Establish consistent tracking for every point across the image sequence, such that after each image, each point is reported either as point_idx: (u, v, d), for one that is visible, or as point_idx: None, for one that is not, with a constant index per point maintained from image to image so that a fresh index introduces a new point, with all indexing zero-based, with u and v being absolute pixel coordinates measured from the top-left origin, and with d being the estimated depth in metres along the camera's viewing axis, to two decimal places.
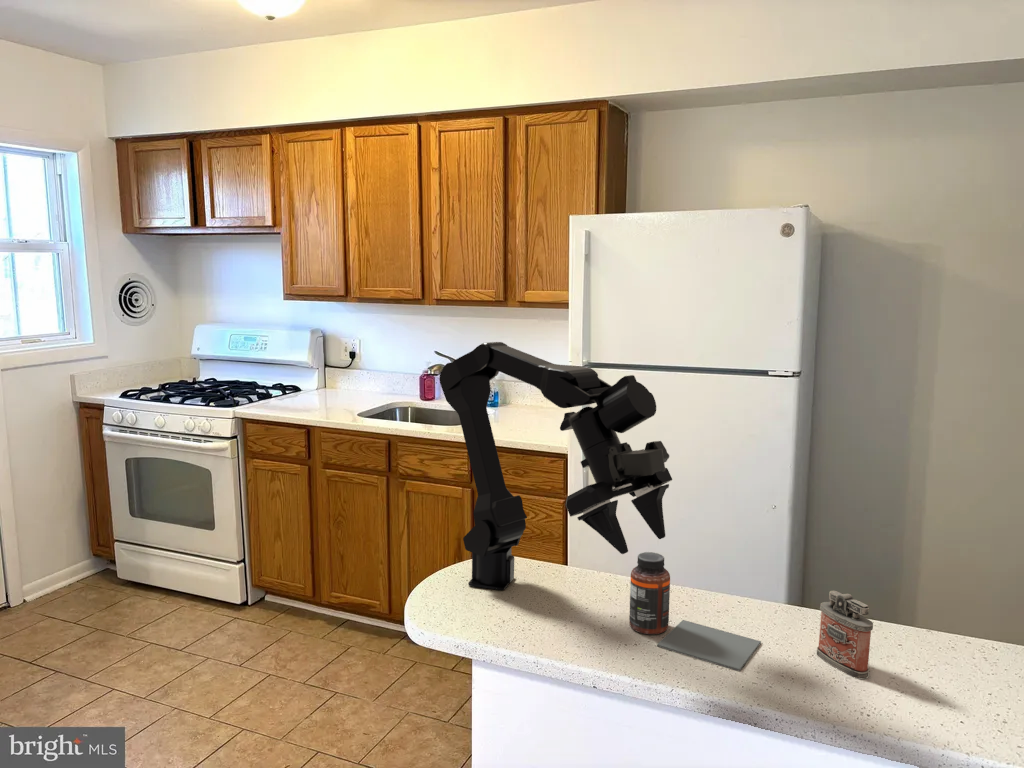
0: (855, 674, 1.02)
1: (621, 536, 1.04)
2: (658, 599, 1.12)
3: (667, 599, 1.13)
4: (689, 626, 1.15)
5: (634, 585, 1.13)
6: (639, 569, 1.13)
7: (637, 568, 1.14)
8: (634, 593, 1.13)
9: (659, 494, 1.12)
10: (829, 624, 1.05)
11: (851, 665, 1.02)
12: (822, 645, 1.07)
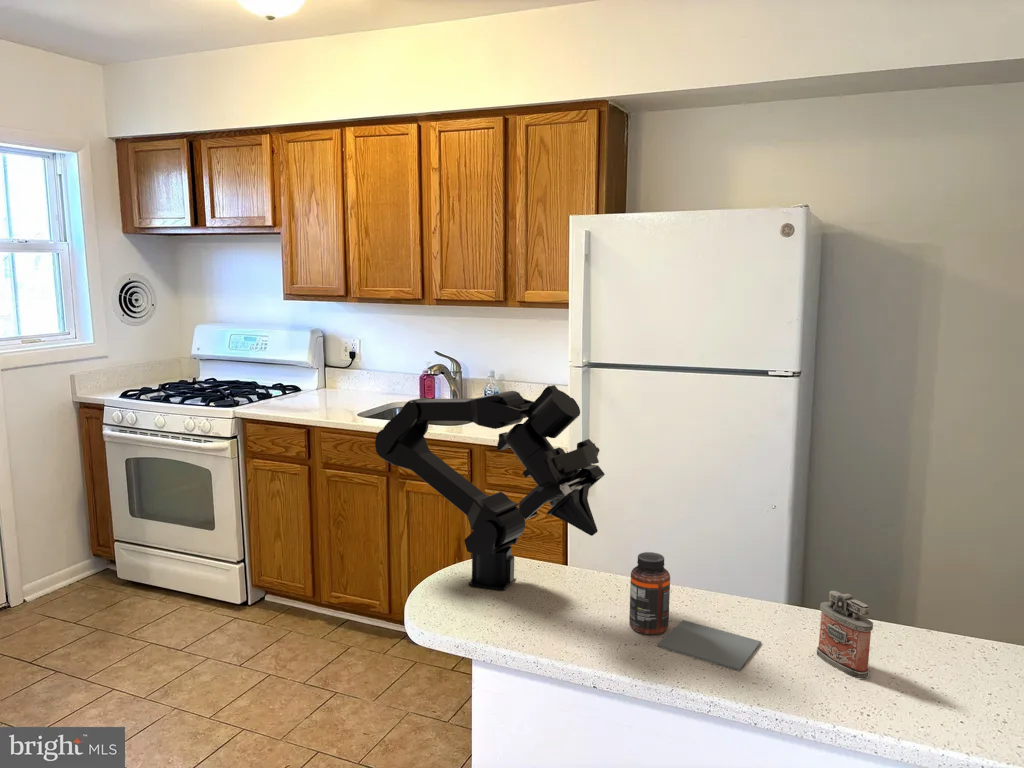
0: (855, 674, 1.02)
1: (588, 519, 1.19)
2: (658, 599, 1.12)
3: (667, 599, 1.13)
4: (689, 626, 1.15)
5: (634, 585, 1.13)
6: (639, 569, 1.13)
7: (637, 568, 1.14)
8: (634, 593, 1.13)
9: (584, 494, 1.21)
10: (829, 624, 1.05)
11: (851, 665, 1.02)
12: (822, 645, 1.07)
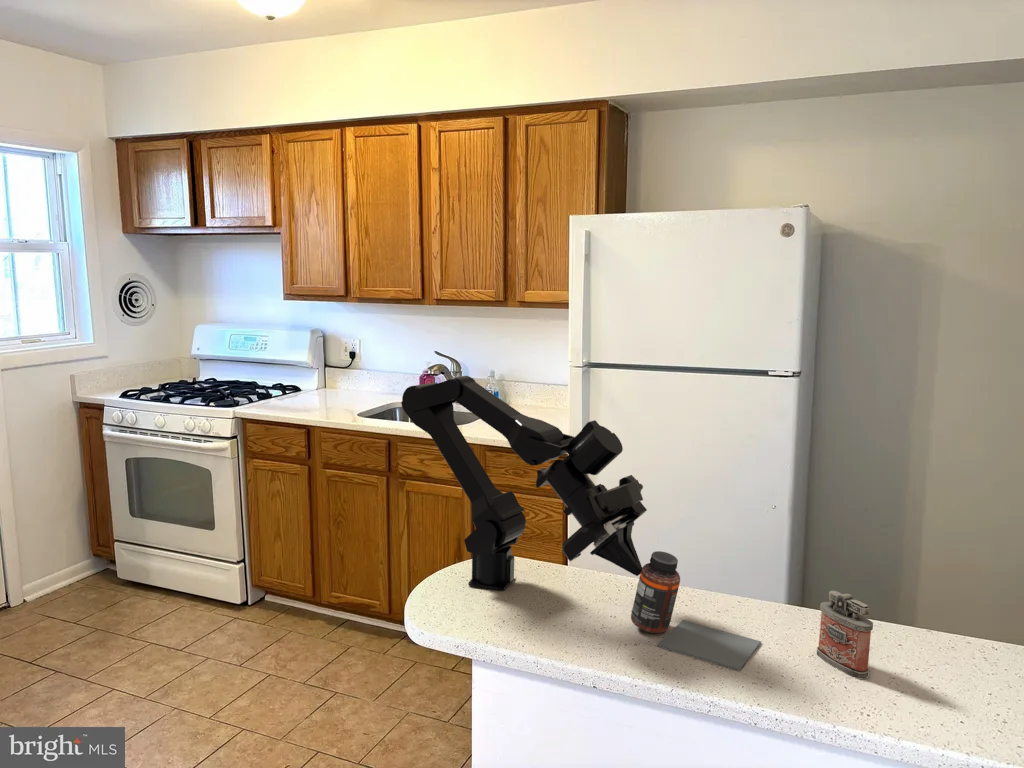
0: (855, 674, 1.02)
1: (633, 559, 1.15)
2: (665, 601, 1.11)
3: (673, 601, 1.12)
4: (689, 626, 1.15)
5: (643, 582, 1.12)
6: (651, 567, 1.12)
7: (649, 566, 1.13)
8: (642, 590, 1.12)
9: (628, 532, 1.17)
10: (829, 624, 1.05)
11: (851, 665, 1.02)
12: (822, 645, 1.07)
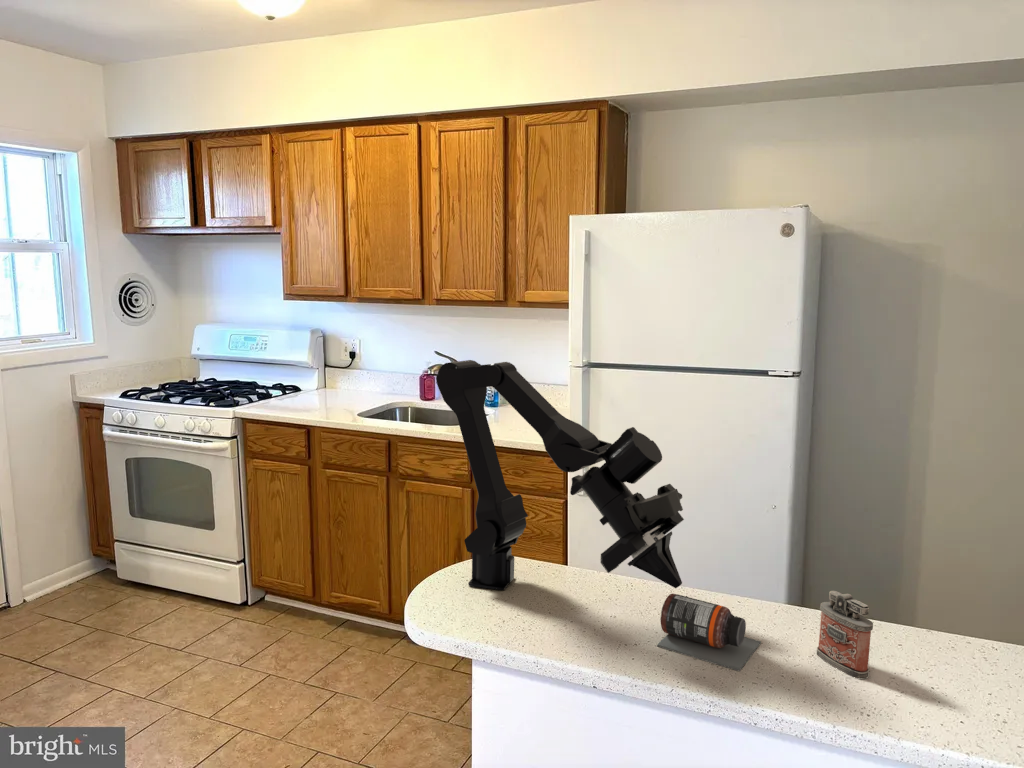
0: (855, 674, 1.02)
1: (672, 571, 1.12)
2: (698, 642, 1.09)
3: None
4: None
5: (708, 624, 1.07)
6: (726, 627, 1.06)
7: (726, 623, 1.07)
8: (700, 622, 1.07)
9: (666, 543, 1.14)
10: (829, 624, 1.05)
11: (851, 665, 1.02)
12: (822, 645, 1.07)
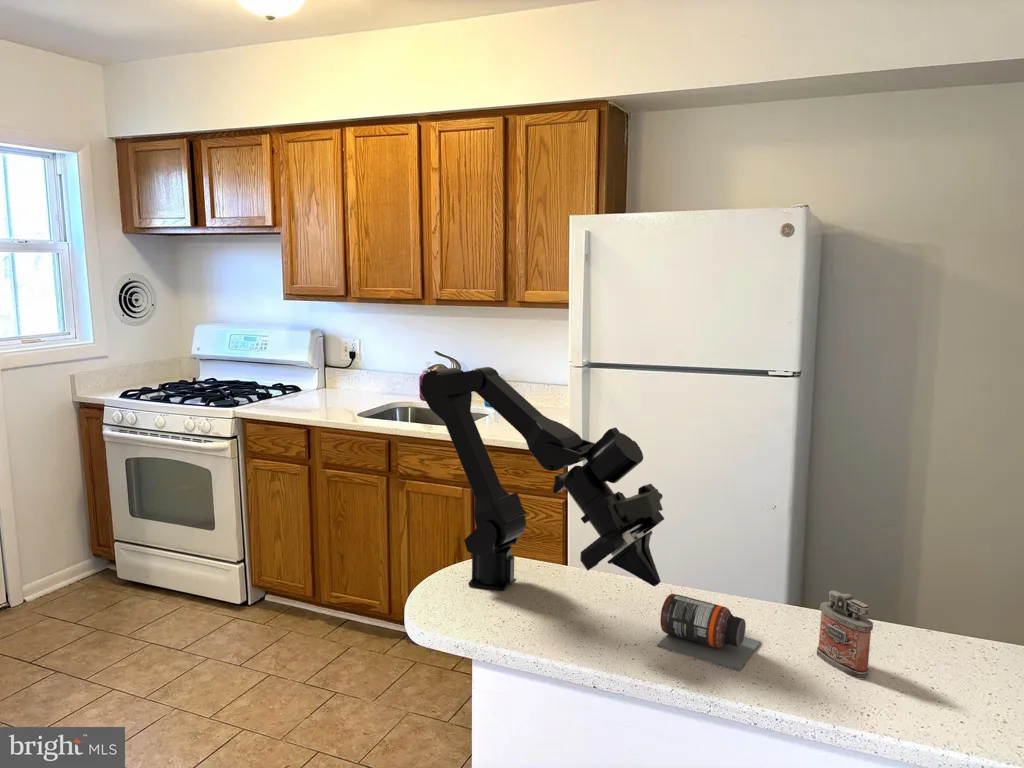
0: (855, 674, 1.02)
1: (651, 569, 1.13)
2: (698, 642, 1.09)
3: None
4: None
5: (708, 624, 1.07)
6: (726, 628, 1.06)
7: (726, 624, 1.06)
8: (700, 623, 1.07)
9: (646, 542, 1.15)
10: (829, 624, 1.05)
11: (851, 665, 1.02)
12: (822, 645, 1.07)
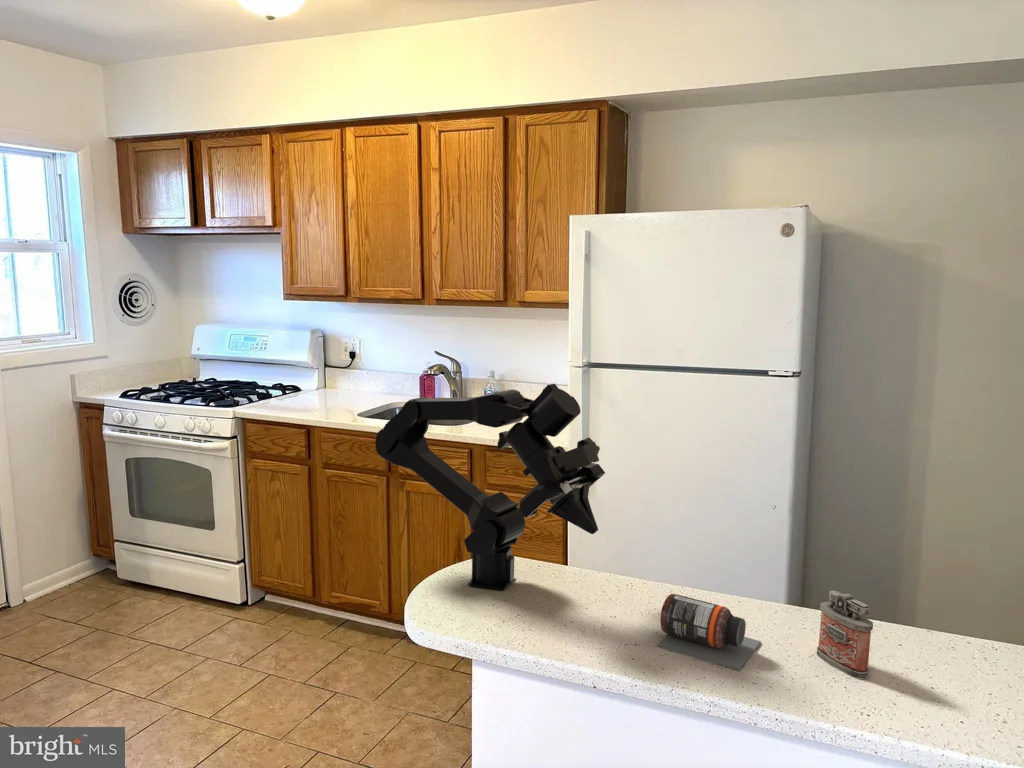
0: (855, 674, 1.02)
1: (588, 518, 1.19)
2: (698, 642, 1.09)
3: None
4: None
5: (708, 624, 1.07)
6: (726, 628, 1.06)
7: (726, 624, 1.06)
8: (700, 623, 1.07)
9: (584, 492, 1.21)
10: (829, 624, 1.05)
11: (851, 665, 1.02)
12: (822, 645, 1.07)
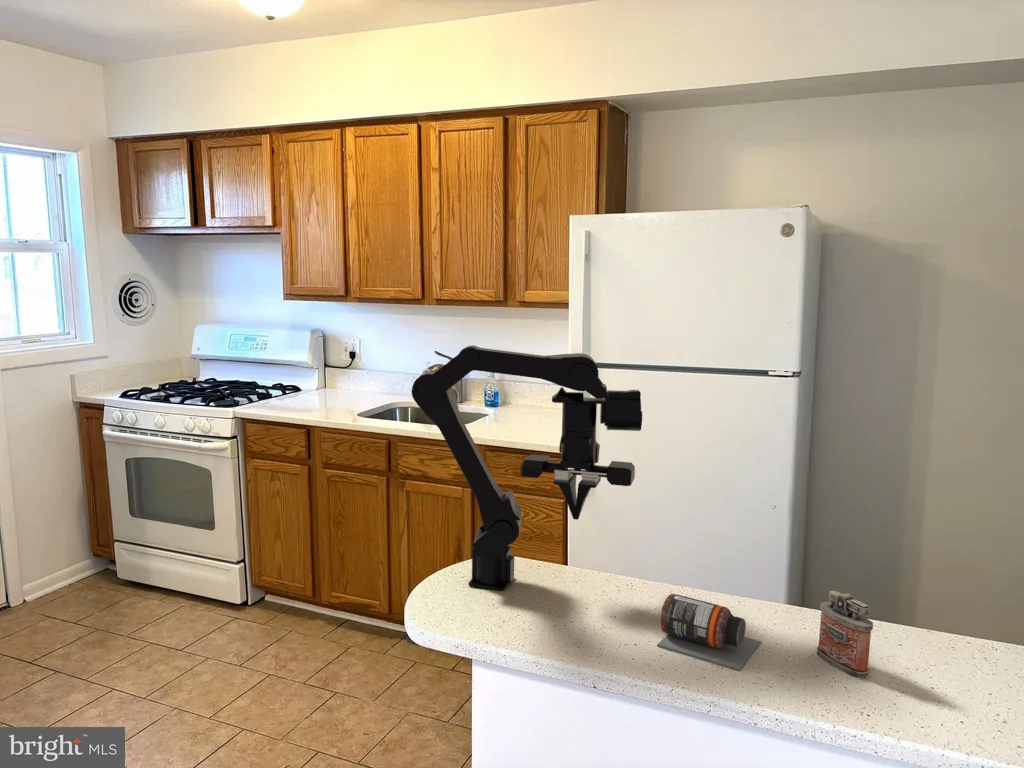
0: (855, 674, 1.02)
1: None
2: (698, 642, 1.09)
3: None
4: None
5: (708, 624, 1.07)
6: (726, 628, 1.06)
7: (726, 624, 1.06)
8: (700, 623, 1.07)
9: None
10: (829, 624, 1.05)
11: (851, 665, 1.02)
12: (822, 645, 1.07)
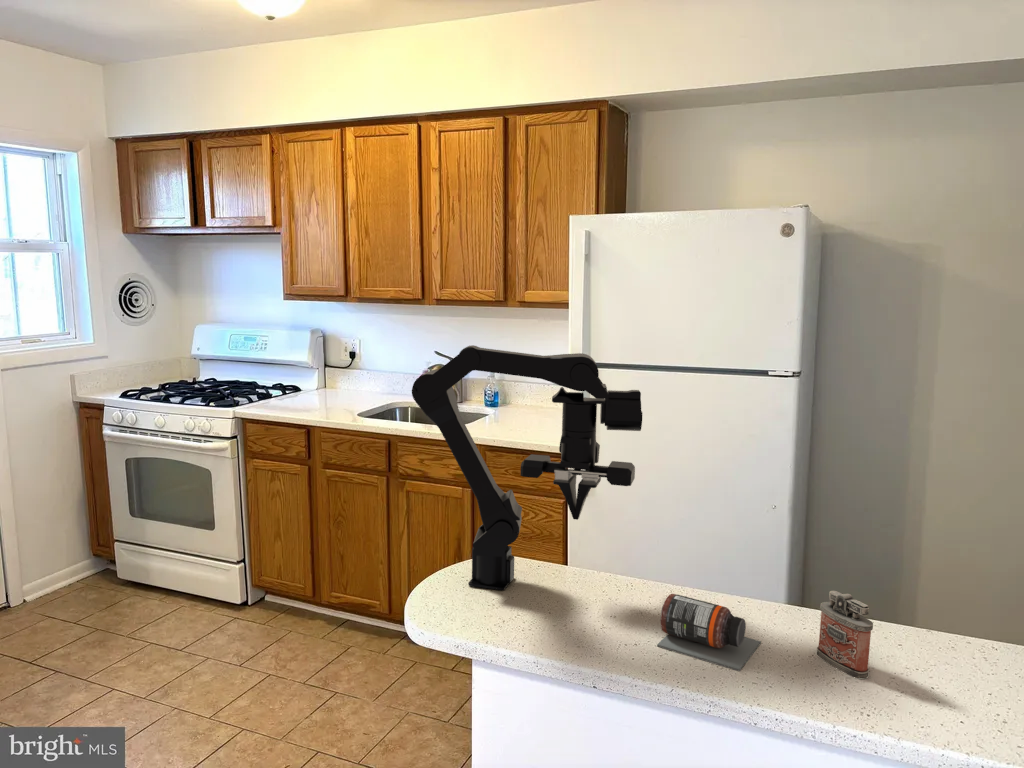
0: (855, 674, 1.02)
1: None
2: (698, 642, 1.09)
3: None
4: None
5: (708, 624, 1.07)
6: (726, 628, 1.06)
7: (726, 624, 1.06)
8: (700, 623, 1.07)
9: None
10: (829, 624, 1.05)
11: (851, 665, 1.02)
12: (822, 645, 1.07)
